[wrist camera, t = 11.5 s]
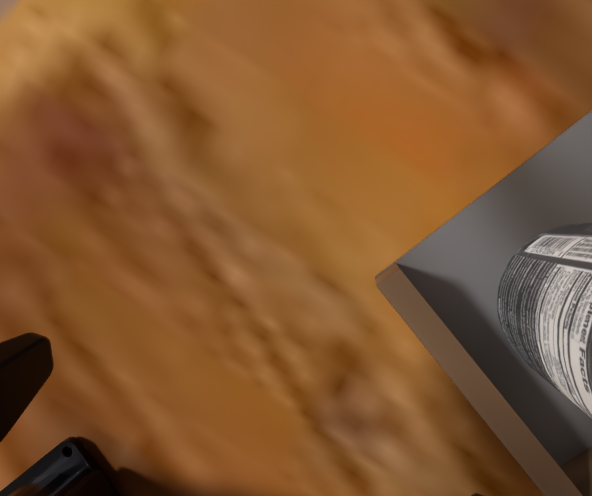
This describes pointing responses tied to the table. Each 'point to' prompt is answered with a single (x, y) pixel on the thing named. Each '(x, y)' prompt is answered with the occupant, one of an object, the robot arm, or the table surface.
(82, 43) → the table surface
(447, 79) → the table surface
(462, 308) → the box
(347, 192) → the table surface
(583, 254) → the pill bottle
